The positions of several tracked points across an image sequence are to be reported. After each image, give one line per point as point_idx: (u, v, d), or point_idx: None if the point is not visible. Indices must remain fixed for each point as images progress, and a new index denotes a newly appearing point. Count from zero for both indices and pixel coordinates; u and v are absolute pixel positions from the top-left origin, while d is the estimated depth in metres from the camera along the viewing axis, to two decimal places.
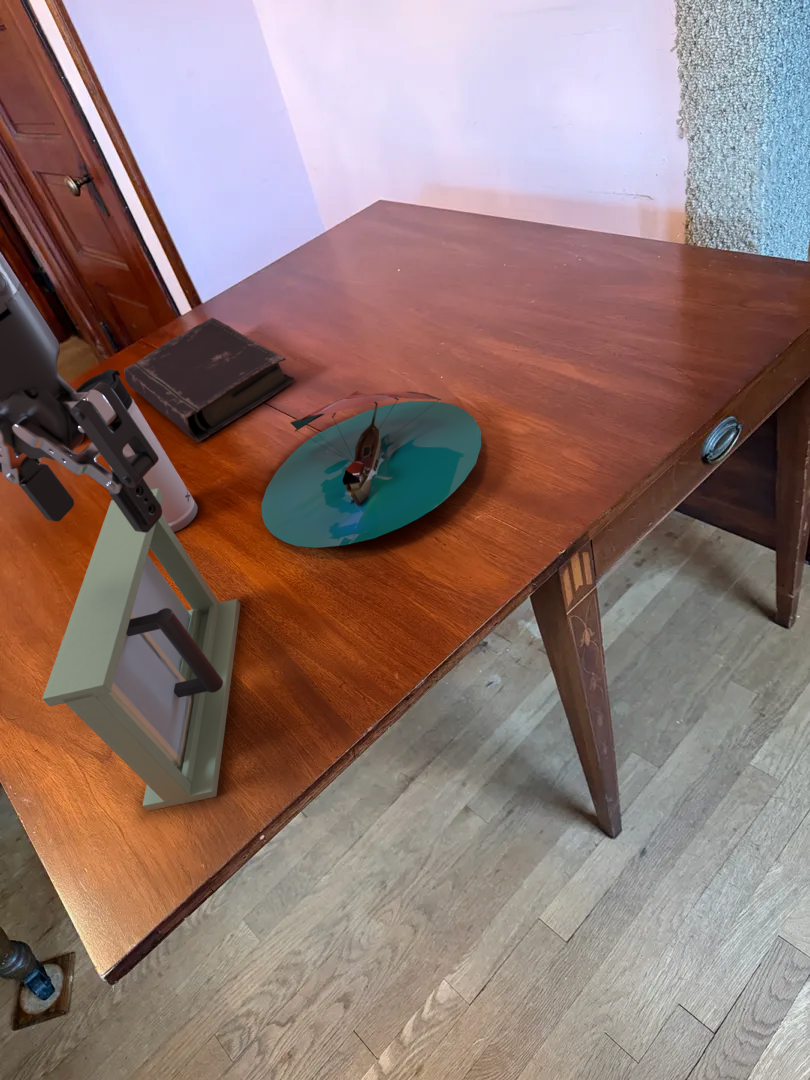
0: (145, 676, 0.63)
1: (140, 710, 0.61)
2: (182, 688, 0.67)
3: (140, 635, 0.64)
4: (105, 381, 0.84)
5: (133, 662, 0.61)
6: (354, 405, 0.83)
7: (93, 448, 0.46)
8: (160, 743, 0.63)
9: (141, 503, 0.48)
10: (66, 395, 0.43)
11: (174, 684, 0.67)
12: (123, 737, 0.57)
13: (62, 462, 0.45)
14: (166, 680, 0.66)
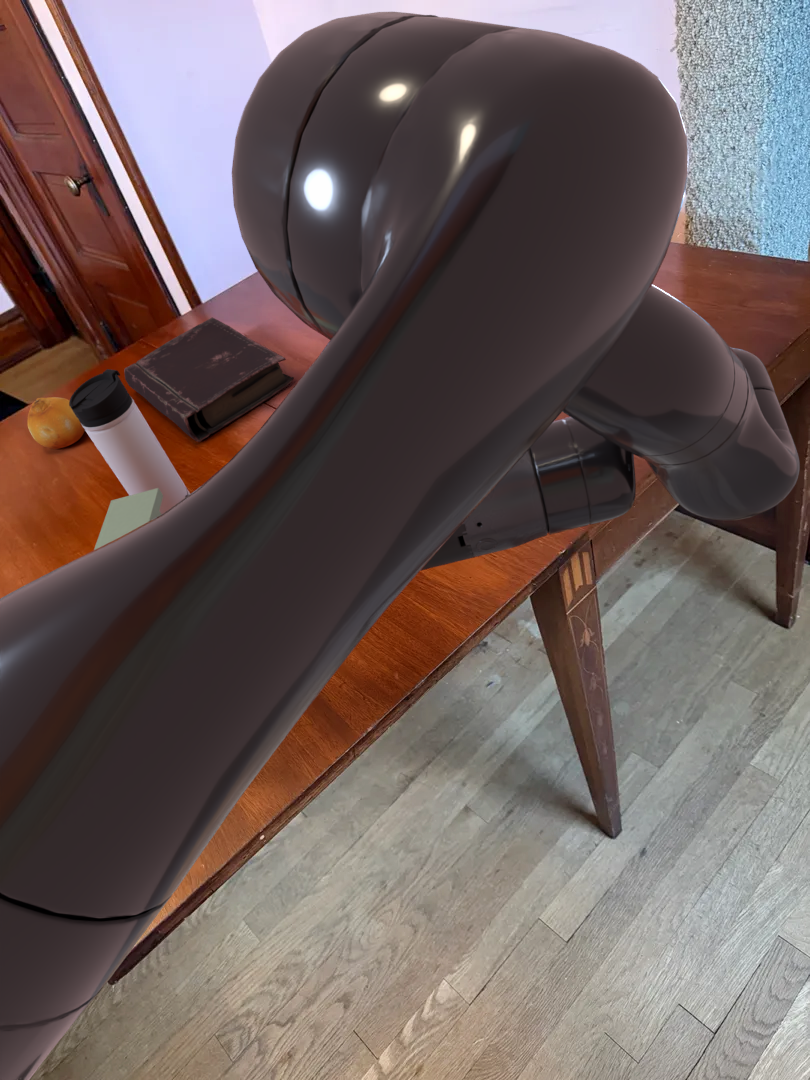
0: None
1: None
2: None
3: None
4: (105, 381, 0.84)
5: None
6: None
7: None
8: None
9: None
10: None
11: None
12: None
13: None
14: None
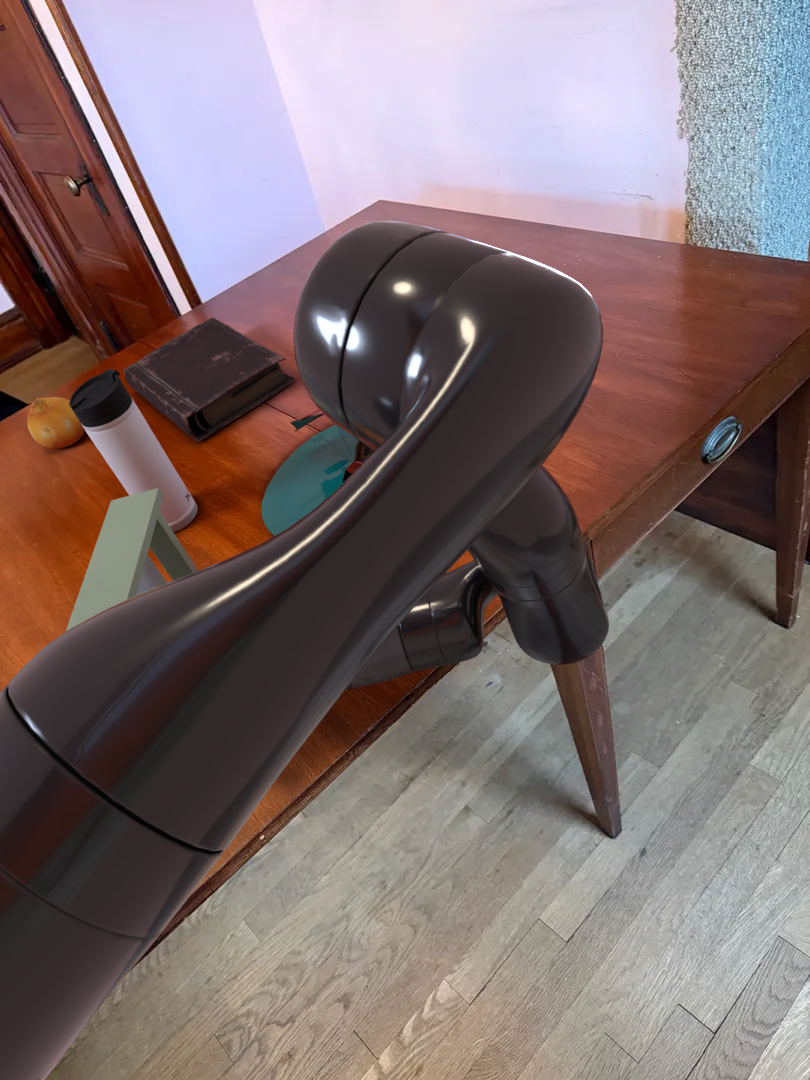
0: None
1: None
2: None
3: None
4: (105, 381, 0.84)
5: None
6: None
7: None
8: None
9: None
10: None
11: None
12: None
13: None
14: None
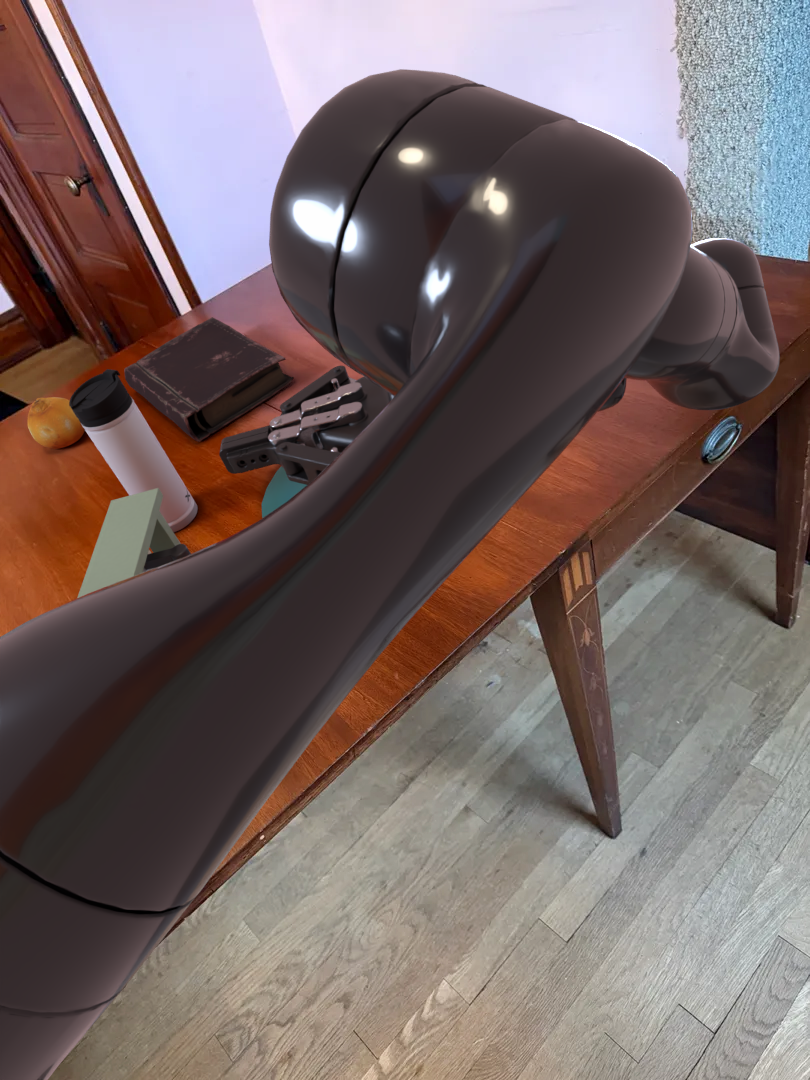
0: None
1: None
2: None
3: None
4: (105, 381, 0.84)
5: None
6: None
7: (310, 445, 0.50)
8: None
9: (251, 455, 0.51)
10: None
11: None
12: None
13: (315, 416, 0.50)
14: None
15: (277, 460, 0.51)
